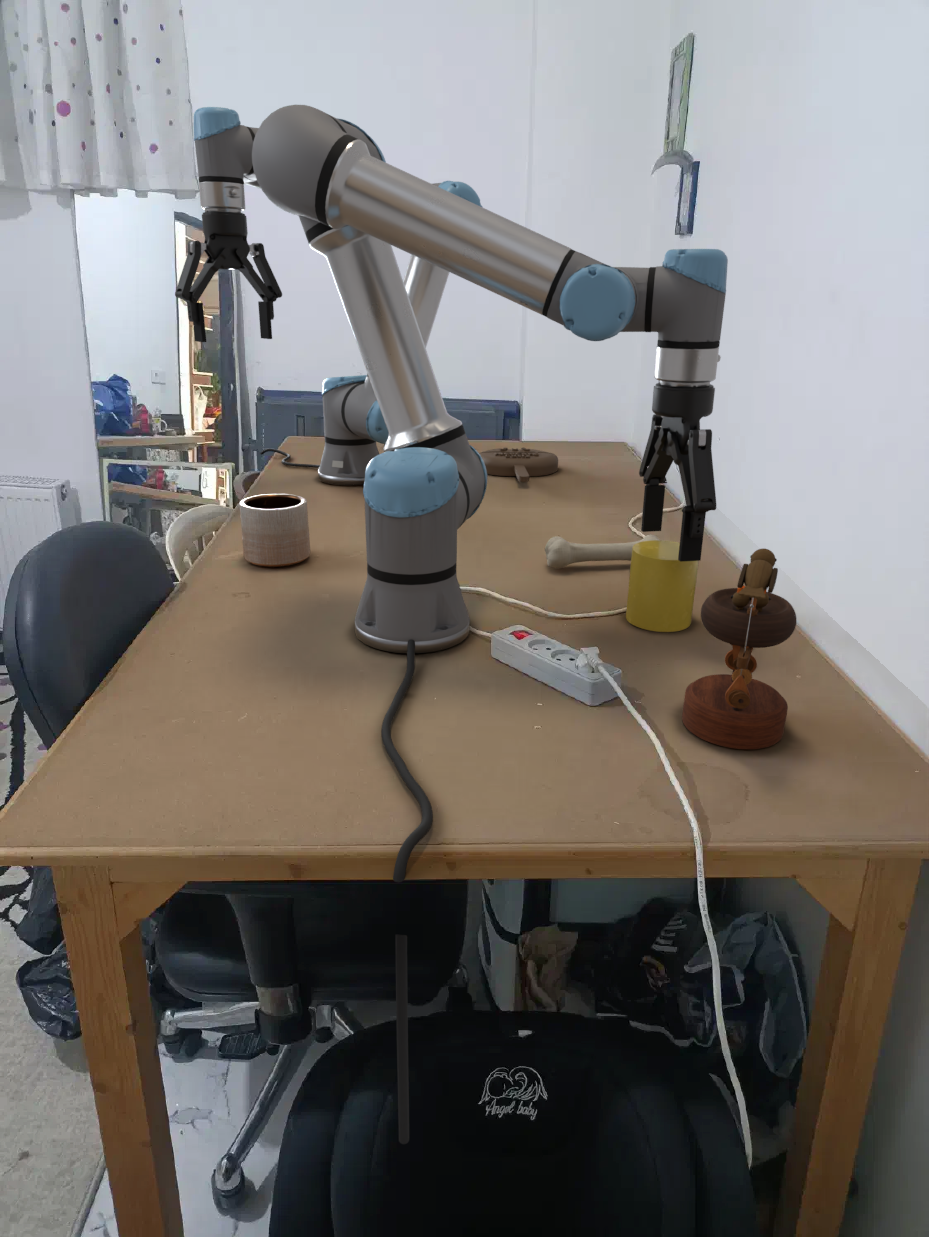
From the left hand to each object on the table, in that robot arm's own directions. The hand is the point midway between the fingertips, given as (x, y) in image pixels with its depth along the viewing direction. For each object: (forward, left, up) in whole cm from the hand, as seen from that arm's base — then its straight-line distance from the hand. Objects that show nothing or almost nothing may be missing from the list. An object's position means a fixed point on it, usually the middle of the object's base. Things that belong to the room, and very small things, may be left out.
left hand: (234, 340), depth 155 cm
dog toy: (+68, +25, -32) cm, 79 cm away
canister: (+87, +12, -32) cm, 93 cm away
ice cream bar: (+13, +66, -32) cm, 74 cm away
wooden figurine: (+108, -8, -32) cm, 113 cm away
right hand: (+87, +12, -22) cm, 91 cm away
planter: (+28, -12, -32) cm, 45 cm away
